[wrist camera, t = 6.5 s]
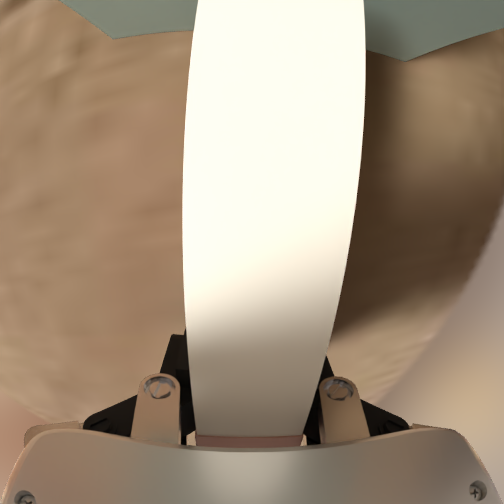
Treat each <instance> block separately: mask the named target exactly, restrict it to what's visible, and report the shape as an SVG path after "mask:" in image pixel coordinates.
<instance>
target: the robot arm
mask: <svg viewBox="0 0 504 504" xmlns="http://www.w3.org/2000/svg"><path fill="white" fill-rule="evenodd" d="M195 430H196V424H195V416H194V408H193V399H192V390H191V380H190V370H189V359H188V346H187V332H186V329H185V333H184V335H176V334H172V335H171V338H170V341H169V344H168V347H167V351H166V354H165V357H164V360H163V364H162V367H161V370H160V373H158V374H152V375H149V376H147V377H146V378H144V379H143V380H142V381H141V383H140V386H139V390H138V395H135V396H133V397H131V398H129V399H127V400H125V401H122V402H120V403H118V404H116V405H113V406H111V407H109V408H107V409H104V410H102V411H100V412H97V413H95V414H93V415H91V416H90V417H88V418H87V419H86V420H85V422H84V423H79V422H78V421H72V422H65V423H57V424H48V425H37V426H34V427H31V428H30V429H28V430H27V432H26V433H25V437H24V450H23V451H22V453H21V455H20V456H19V458H18V460H17V462H16V464H15V466H14V468H13V470H12V472H11V474H10V476H9V479H8V481H7V484H6V486H5V489H4V492H3V494H2V497H1V500H0V504H503V503H502V500H501V498H500V496H499V494H498V492H497V490H496V487H495V485H494V483H493V481H492V479H491V477H490V475H489V473H488V471H487V470H486V468H485V466H484V464H483V463H482V461H481V459H480V457H479V456H478V454H477V453H476V451H475V450H474V448H473V447H472V446H471V445H470V443H469V442H468V441H467V439H465V437H464V436H462V435H461V434H460V433H458V432H456V431H455V430H452V429H446V428H438V427H432V426H425V425H419V424H412V426H409V425H408V424H407V422H406V421H405V420H403V419H402V418H400V417H398V416H396V415H393V414H391V413H389V412H387V411H385V410H383V409H380V408H378V407H376V406H374V405H372V404H370V403H368V402H365V401H363V400H361V399H360V397H359V393H358V390H357V388H356V386H355V384H354V383H353V382H352V381H350V380H348V379H346V378H343V377H337V376H334V374H333V371H332V369H331V366H330V364H329V361H328V358H327V356H326V357H325V360H324V364H323V368H322V371H321V375H320V378H319V382H318V385H317V389H316V392H315V395H314V399H313V402H312V405H311V408H310V412H309V415H308V418H307V421H306V424H305V427H304V430H303V436H304V437H303V446H295V447H277V448H222V447H204V446H191V445H188V434H190V433H192V432H193V431H195Z"/></svg>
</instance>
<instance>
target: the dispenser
mask: <svg viewBox="0 0 504 504" xmlns="http://www.w3.org/2000/svg"><path fill="white" fill-rule="evenodd" d="M59 1H61V2H62V3H64V4H65V5H67V6H68V7H70V8H71V9H73V10H74V11H75V12H77V13H78V14H80V15H81V16H82V17H84V18H85V19H87V20H88V21H89V22H91V23H92V24H93V25H95V26H96V27H97V28H99V29H100V30H101V31H103V32H104V33H105V34H107V35H108V36H109V37H111V38H112V39H117V38H123V37H129V36H136V35H143V34H152V33H161V32H173V31H189V30H194V26H195V19H196V12H197V5H198V0H59ZM363 2H364V19H365V50H369V51H372V52H376V53H379V54H383V55H386V56H389V57H392V58H395V59H398V60H401V61H404V62H406V61H408V60H411V59H413V58H416V57H418V56H421V55H423V54H426V53H428V52H431V51H434V50H436V49H439V48H442V47H444V46H447V45H450V44H453V43H456V42H459V41H462V40H465V39H468V38H471V37H474V36H477V35H481V34H484V33H488V32H491V31H495V30H498V29H502V28H504V0H363Z"/></svg>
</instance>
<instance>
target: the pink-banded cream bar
mask: <svg viewBox="0 0 504 504" xmlns="http://www.w3.org/2000/svg"><path fill="white" fill-rule="evenodd" d="M364 105H365V19H364V2H363V0H198V5H197V12H196V19H195V26H194V34H193V42H192V51H191V60H190V70H189V81H188V93H187V106H186V121H185V140H184V165H183V272H184V297H185V316H186V332H187V346H188V359H189V370H190V380H191V390H192V399H193V408H194V416H195V424H196V432H195V439H196V446H204V447H222V448H277V447H295V446H300V445H301V442H302V439H303V437H304V436H303V430H304V427H305V424H306V421H307V418H308V415H309V412H310V408H311V405H312V402H313V399H314V395H315V392H316V389H317V385H318V382H319V378H320V375H321V371H322V368H323V364H324V360H325V357H326V353H327V349H328V345H329V341H330V337H331V333H332V329H333V325H334V320H335V316H336V312H337V307H338V302H339V298H340V293H341V288H342V283H343V278H344V273H345V268H346V262H347V257H348V251H349V245H350V239H351V233H352V226H353V219H354V212H355V205H356V197H357V189H358V181H359V172H360V162H361V151H362V138H363V124H364Z"/></svg>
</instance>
